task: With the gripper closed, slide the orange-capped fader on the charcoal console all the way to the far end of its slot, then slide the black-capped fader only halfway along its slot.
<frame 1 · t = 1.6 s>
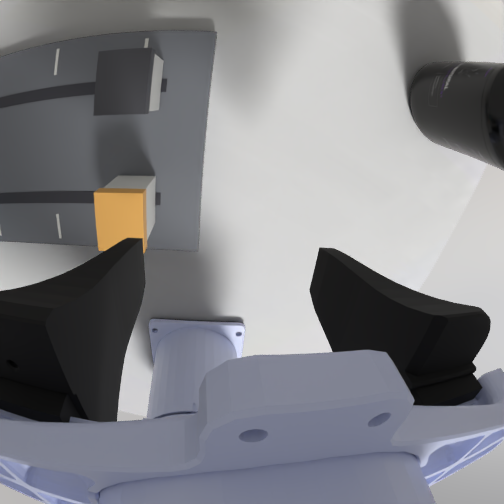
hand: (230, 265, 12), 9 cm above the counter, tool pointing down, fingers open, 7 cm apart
fader black: (132, 83, 13), point 4 cm above the counter, slide at 0.0 cm
supplement bottle: (438, 103, 19), on the counter
fader orange: (128, 210, 16), point 4 cm above the counter, slide at 0.0 cm
console: (62, 142, 17), on the counter
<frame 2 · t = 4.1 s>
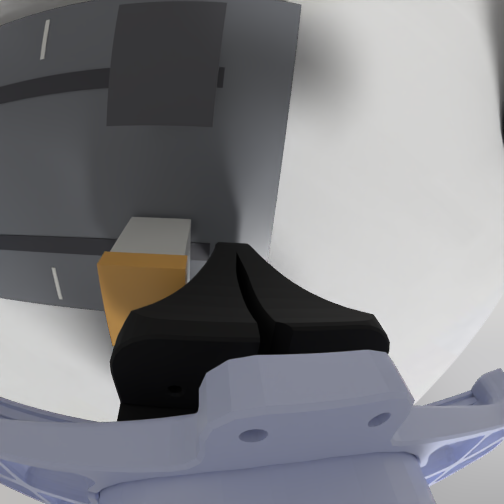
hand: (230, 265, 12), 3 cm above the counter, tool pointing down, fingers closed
fader black: (174, 69, 8), point 4 cm above the counter, slide at 0.0 cm
fader orange: (153, 277, 11), point 4 cm above the counter, slide at 0.5 cm, touching gripper
console: (55, 161, 12), on the counter
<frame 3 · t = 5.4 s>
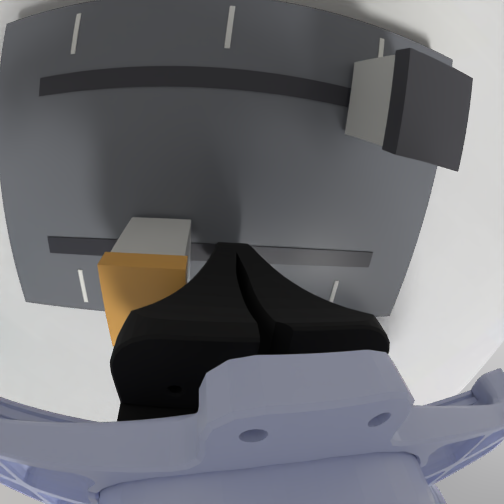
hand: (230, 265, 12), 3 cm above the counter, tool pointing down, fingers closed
fader black: (403, 107, 9), point 4 cm above the counter, slide at 0.0 cm
fader orange: (153, 277, 11), point 4 cm above the counter, slide at 8.0 cm, touching gripper
console: (214, 162, 13), on the counter
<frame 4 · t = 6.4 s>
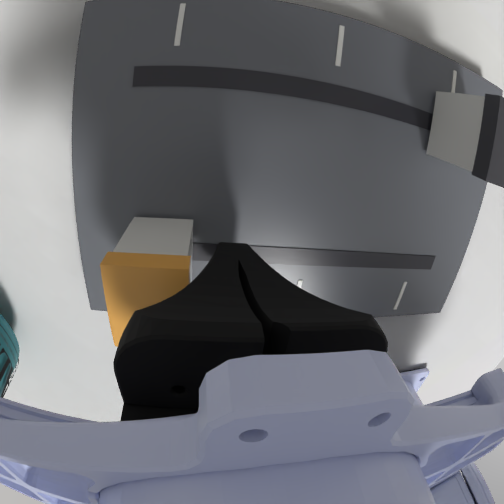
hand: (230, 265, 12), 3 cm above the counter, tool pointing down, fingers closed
fader black: (478, 136, 9), point 4 cm above the counter, slide at 0.0 cm
fader orange: (156, 277, 11), point 4 cm above the counter, slide at 12.1 cm, touching gripper
console: (309, 171, 13), on the counter
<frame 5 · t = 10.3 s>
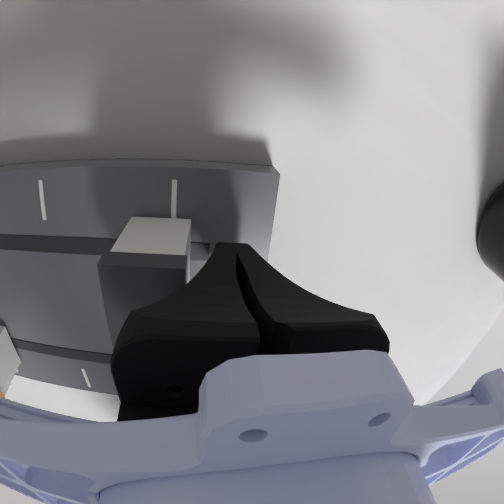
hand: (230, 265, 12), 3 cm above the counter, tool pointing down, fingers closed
fader black: (153, 277, 11), point 4 cm above the counter, slide at 0.5 cm, touching gripper
supplement bottle: (502, 222, 16), on the counter
console: (72, 290, 15), on the counter
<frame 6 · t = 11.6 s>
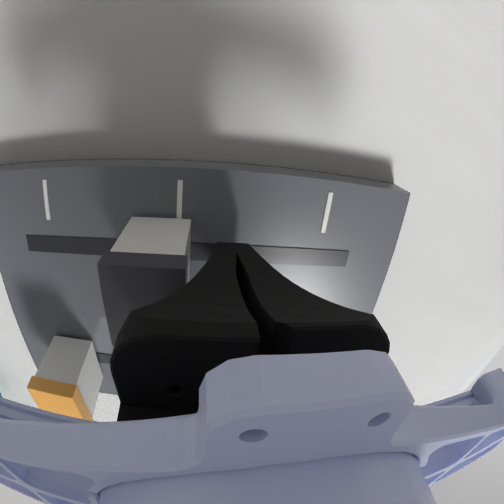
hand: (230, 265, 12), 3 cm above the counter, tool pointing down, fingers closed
fader black: (153, 277, 11), point 4 cm above the counter, slide at 6.7 cm, touching gripper
fader orange: (69, 383, 13), point 4 cm above the counter, slide at 12.1 cm
console: (181, 298, 16), on the counter
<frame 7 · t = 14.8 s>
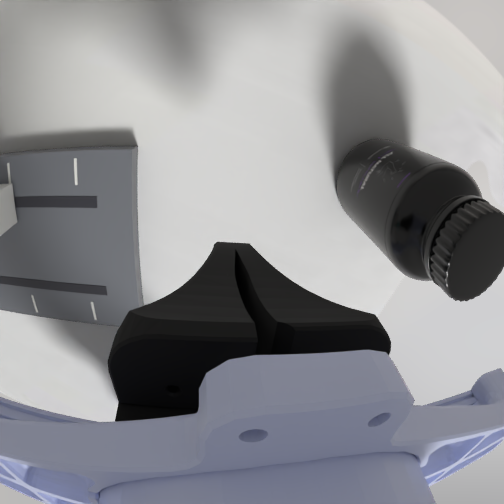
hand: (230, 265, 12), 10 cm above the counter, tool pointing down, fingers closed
supplement bottle: (373, 181, 22), on the counter
console: (28, 236, 20), on the counter
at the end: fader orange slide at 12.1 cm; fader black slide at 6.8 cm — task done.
